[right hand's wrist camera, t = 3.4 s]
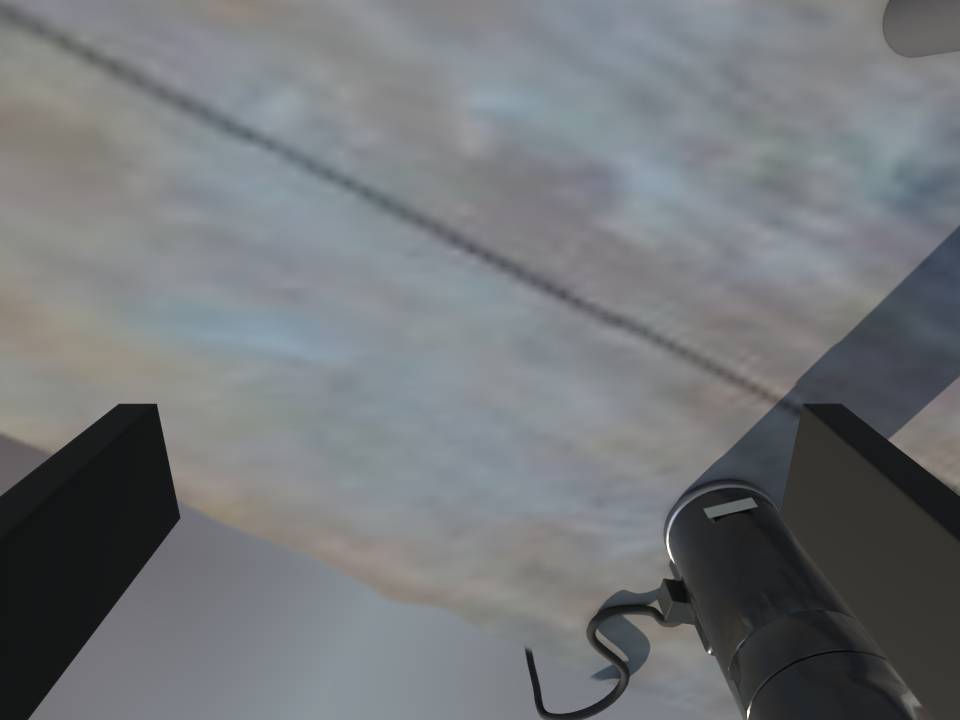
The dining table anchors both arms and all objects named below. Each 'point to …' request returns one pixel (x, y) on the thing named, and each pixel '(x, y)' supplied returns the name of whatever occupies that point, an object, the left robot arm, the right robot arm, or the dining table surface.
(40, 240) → the dining table surface
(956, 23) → the bottle
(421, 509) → the dining table surface
